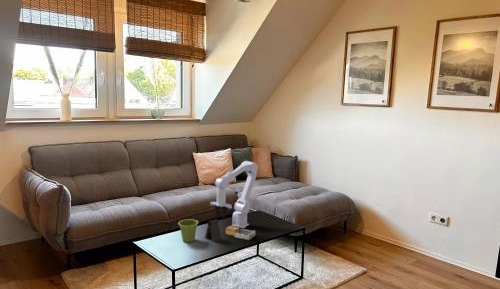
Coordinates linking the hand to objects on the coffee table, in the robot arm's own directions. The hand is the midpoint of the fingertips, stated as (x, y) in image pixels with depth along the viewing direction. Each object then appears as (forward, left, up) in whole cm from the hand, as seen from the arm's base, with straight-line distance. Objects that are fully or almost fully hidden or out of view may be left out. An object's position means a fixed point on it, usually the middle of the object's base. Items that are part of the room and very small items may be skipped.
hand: (220, 217), depth 236 cm
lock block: (+9, 0, -10) cm, 13 cm away
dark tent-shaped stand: (+2, -13, -10) cm, 16 cm away
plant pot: (-10, -22, -10) cm, 26 cm away
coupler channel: (+18, 0, -9) cm, 20 cm away
